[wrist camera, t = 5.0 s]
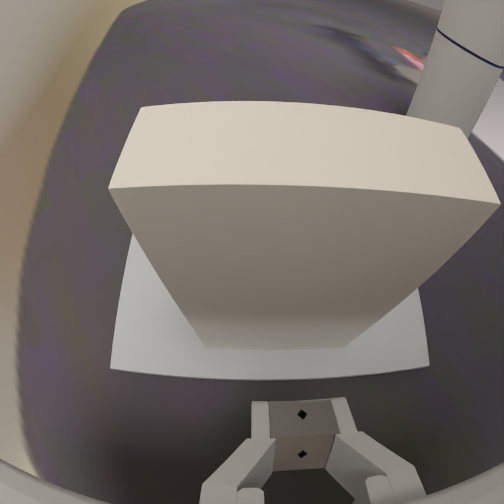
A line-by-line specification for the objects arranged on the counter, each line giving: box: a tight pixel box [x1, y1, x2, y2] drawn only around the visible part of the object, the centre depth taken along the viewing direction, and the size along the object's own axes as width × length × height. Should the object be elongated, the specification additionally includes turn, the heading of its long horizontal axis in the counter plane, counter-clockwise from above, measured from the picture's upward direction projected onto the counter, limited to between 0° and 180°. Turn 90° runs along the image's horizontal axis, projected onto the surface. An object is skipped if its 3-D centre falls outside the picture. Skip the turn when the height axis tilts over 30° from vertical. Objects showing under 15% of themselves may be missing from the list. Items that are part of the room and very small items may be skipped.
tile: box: [108, 101, 501, 350], centre depth 12 cm, size 8×3×14 cm, turn 89°
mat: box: [110, 234, 430, 381], centre depth 22 cm, size 20×20×1 cm
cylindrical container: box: [406, 0, 504, 138], centre depth 17 cm, size 7×7×25 cm
